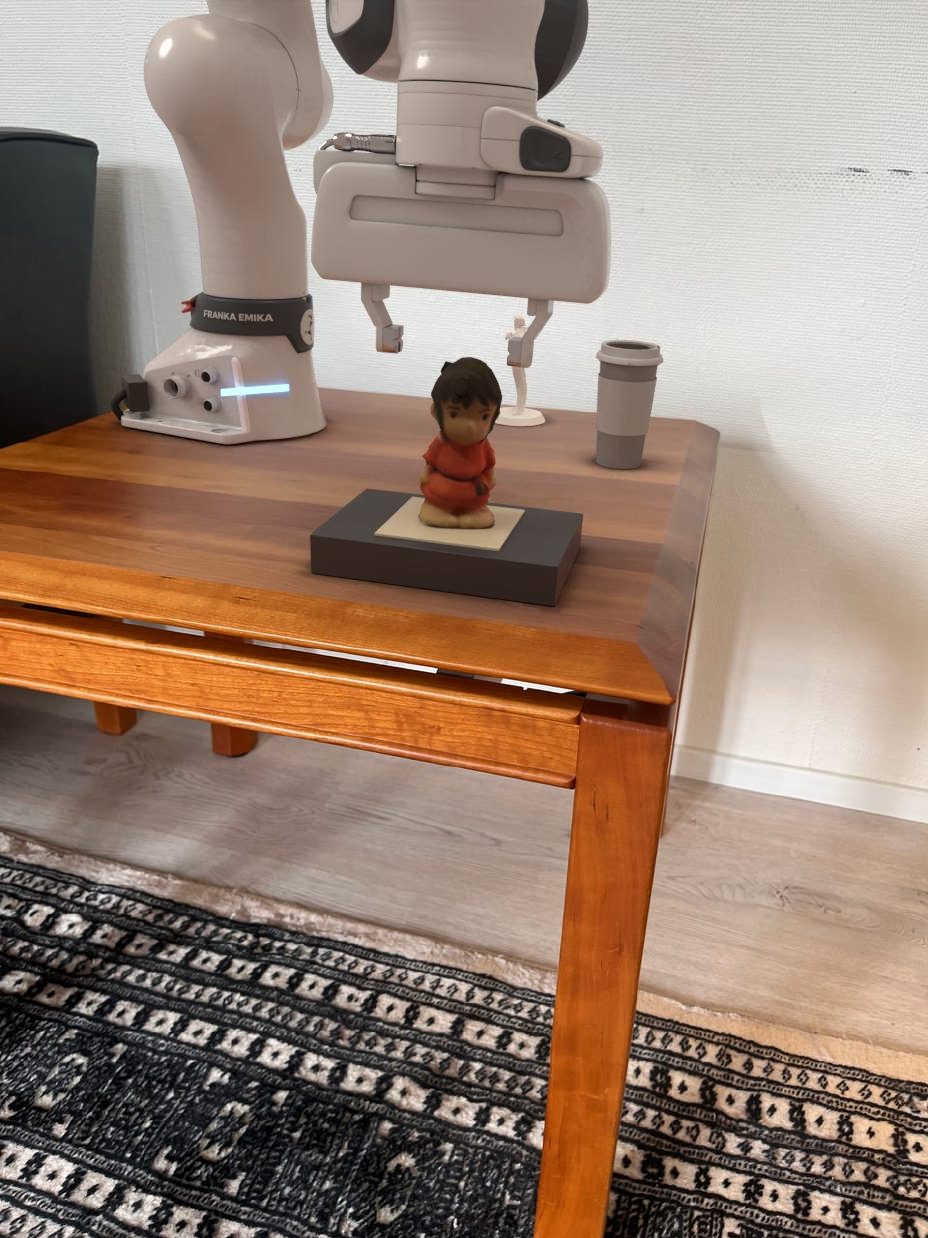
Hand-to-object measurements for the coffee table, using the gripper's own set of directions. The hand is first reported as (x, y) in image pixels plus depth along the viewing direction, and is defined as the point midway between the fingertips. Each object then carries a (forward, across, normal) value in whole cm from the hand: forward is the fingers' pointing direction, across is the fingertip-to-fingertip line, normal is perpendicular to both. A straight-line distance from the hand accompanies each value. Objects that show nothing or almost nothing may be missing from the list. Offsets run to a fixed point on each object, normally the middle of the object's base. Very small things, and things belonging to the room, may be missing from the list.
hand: (453, 358), depth 69 cm
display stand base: (+15, +1, 0) cm, 15 cm away
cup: (+15, +10, +33) cm, 38 cm away
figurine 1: (+12, +1, 0) cm, 12 cm away
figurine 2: (+15, -5, +48) cm, 51 cm away
